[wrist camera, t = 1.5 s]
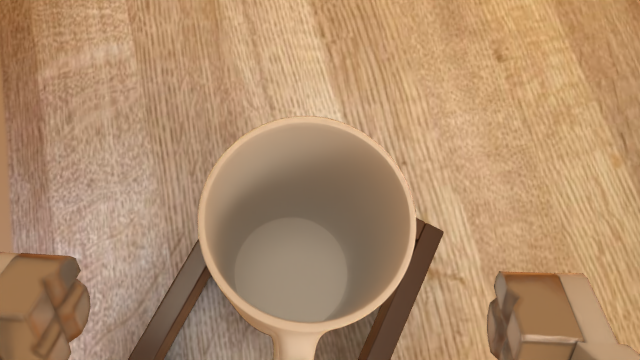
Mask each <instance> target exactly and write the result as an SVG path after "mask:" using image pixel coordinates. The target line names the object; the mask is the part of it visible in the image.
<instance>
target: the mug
mask: <svg viewBox="0 0 640 360" xmlns="http://www.w3.org/2000/svg"><path fill="white" fill-rule="evenodd" d="M198 236H199V242H200V247H201V251H202V254H203V257H204V260H205V263H206V265H207V267H208V269H209V271H210V273H211V275H212V277H213V279H214V280H215V282H216V283H217V285H218V286H219V288H220V289H221V291H222V292H223V294H224V295H225V296H226V298H227V299H228V300H229V301H230V302H231V304H232V305H233V306H234V307H235V309H236V310H237V312H238V313H239V314H240V315H241V316H242V318H243V319H244V320H245V321H247V322H248V323H249V324H250V325H252V326H253V327H254V328H256V329H257V330H259V331H261V332H263V333H265V334H267V335H270V336H271V338H272V340H273V345H274V353H273V360H314V355H315V350H316V346H317V343H318V341H319V339H320V337H321V336H322V335H323V334H324V333H326V332H328V331H330V330H333V329H337V328H340V327H343V326H346V325H349V324H351V323H353V322H356V321H358V320H360V319H361V318H363V317H365V316H367V315H368V314H370V313H371V312H372V311H374V310H375V309H376V308H378V307H379V306H380V305H381V304H382V303H383V302H384V301H385V300H386V299H387V298H388V297H389V296H390V295H391V294H392V293H393V291H394V290H395V289H396V287H397V286H398V284H399V283H400V281H401V280H402V278H403V276H404V274H405V272H406V270H407V268H408V266H409V263H410V260H411V257H412V254H413V250H414V245H415V239H416V213H415V206H414V202H413V198H412V194H411V191H410V188H409V186H408V184H407V181H406V179H405V177H404V175H403V173H402V172H401V170H400V168H399V167H398V165H397V164H396V162H395V161H394V160H393V158H392V157H391V156H390V155H389V154H388V153H387V152H386V151H385V150H384V149H383V148H382V147H381V146H380V145H379V144H378V143H377V142H376V141H374V140H373V139H372V138H371V137H369V136H368V135H366V134H365V133H363V132H361V131H360V130H358V129H356V128H354V127H352V126H350V125H347V124H345V123H342V122H339V121H336V120H333V119H329V118H324V117H317V116H296V117H288V118H283V119H279V120H275V121H272V122H269V123H266V124H264V125H261V126H259V127H257V128H255V129H253V130H251V131H250V132H248V133H246V134H245V135H243V136H242V137H241V138H239V139H238V140H237V141H236V142H234V143H233V144H232V145H231V146H230V147H229V148H228V149H227V150H226V151H225V152H224V153H223V155H222V156H221V157H220V158H219V160H218V161H217V162H216V164H215V165H214V167H213V169H212V170H211V172H210V174H209V176H208V178H207V180H206V183H205V185H204V188H203V191H202V194H201V198H200V203H199V209H198Z"/></svg>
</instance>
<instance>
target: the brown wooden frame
mask: <svg viewBox="0 0 640 360" xmlns="http://www.w3.org/2000/svg"><path fill="white" fill-rule="evenodd" d="M442 235H443V231H442V230H440V229H438V228H436V227H434V226H432V225H430V224H428V223H426V224H425V222H423V221H421V220H419V219H417V218H416V239H415V245H414V250H413V254H412V257H411V260H410V263H409V266H408V268H407V270H406V272H405V274H404V276H403V278H402V280H401V281H400V283H399V284H398V286H397V287H396V289H395V290H394V291H393V293H392V294H391V295H390V296H389V297H388V298H387V299H386V300H385V301H384V302H383V303H382V306H381V308H380V310H379V312H378V315H377V317H376V319H375V322H374V324H373V326H372V328H371V331H370V333H369V335H368V337H367V340H366V342H365V344H364V346H363V349H362V351H361V353H360V356H359V358H358V360H390V359H391V356H392V354H393V352H394V349H395V347H396V345H397V342H398V340H399V337H400V335H401V333H402V330H403V328H404V326H405V323H406V321H407V319H408V316H409V314H410V311H411V309H412V307H413V304H414V302H415V300H416V297H417V295H418V292H419V290H420V288H421V285H422V283H423V281H424V278H425V276H426V273H427V271H428V269H429V266H430V264H431V262H432V259H433V257H434V254H435V252H436V250H437V247H438V245H439V243H440V240H441V238H442ZM210 276H211V273H210V271H209V269H208V267H207V265H206V263H205V260H204V257H203V254H202V251H201V247H200V242H199V239H198V240H197V242H196V244H195V246H194V247H193V249H192V251H191V252H190V254H189V256H188V258H187V259H186V261H185V263H184V264H183V266H182V268H181V270H180V271H179V273H178V275H177V276H176V278H175V280H174V281H173V283H172V285H171V287H170V288H169V290H168V292H167V293H166V295H165V297H164V299H163V300H162V302H161V304H160V305H159V307H158V309H157V311H156V312H155V314H154V316H153V317H152V319H151V321H150V323H149V324H148V326H147V328H146V329H145V331H144V333H143V334H142V336H141V338H140V340H139V341H138V343H137V345H136V346H135V348H134V350H133V352H132V353H131V355H130V357H129V358H128V360H163V359H164V358H165V356H166V354H167V352H168V350H169V349H170V347H171V345H172V343H173V342H174V340H175V338H176V336H177V334H178V333H179V331H180V329H181V327H182V326H183V324H184V322H185V320H186V318H187V317H188V315H189V313H190V311H191V310H192V308H193V306H194V304H195V302H196V301H197V299H198V297H199V295H200V294H201V292H202V290H203V288H204V286H205V285H206V283H207V281H208V279H209V278H210Z"/></svg>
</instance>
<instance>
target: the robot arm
mask: <svg viewBox="0 0 640 360" xmlns="http://www.w3.org/2000/svg"><path fill="white" fill-rule="evenodd" d="M80 271H81V270H80V268H79V265H78V263H77V260H76V258H74V257H71V256H62V255H46V254H30V253H21V254H20V253H5V252H0V360H68V358H69V357H70V355H71V349H70V346H69V342H71V341H72V340H73V339H75V338H76V337H78V336H79V335H80V334H82V332H83V330H84V328H85V326H86V324H87V321H88V317H89V312H90V296H89V293H88V290H87V287H86V286H85V285H84V284H82V283H81V282H80V281H79V280H78V279H76V278H77V276H78V274H79V273H80ZM494 289H495V293H496V297H497V298H496V299H494V300H493V301H492V302H491V303H490V305H489V310H488V315H487V334H488V342H489V347H490V352H491V353H492V354H493V355H494V356H495V357H496V358H497V359H498V360H640V354H639V353H637V352H636V351H635V350H634V349H632V348H631V347H630V346H628V345H622V344H618V341H617V339H616V337H615V335H614V333H613V331H612V329H611V327H610V325H609V322H608V320H607V318H606V316H605V314H604V312H603V310H602V308H601V306H600V303H599V301H598V299H597V297H596V295H595V293H594V291H593V289H592V287H591V284H590V282H589V280H588V278H587V277H586V276H585V275H584V274H583V273H554V274H553V273H537V272H502V271H499V273H498V275H497V276H496V280H495V284H494Z"/></svg>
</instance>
